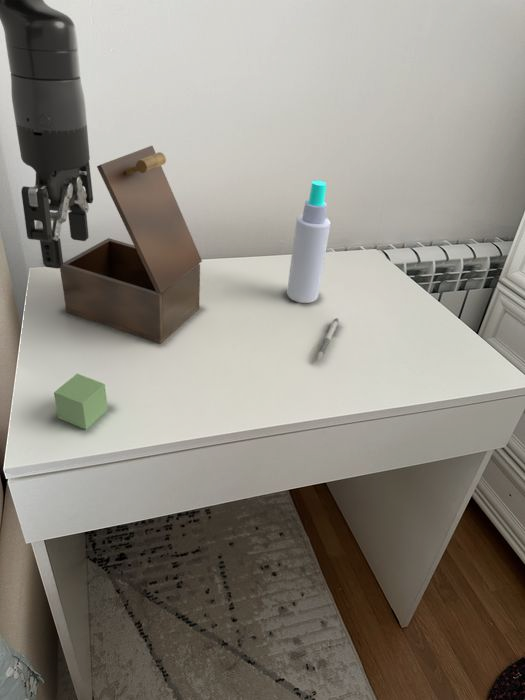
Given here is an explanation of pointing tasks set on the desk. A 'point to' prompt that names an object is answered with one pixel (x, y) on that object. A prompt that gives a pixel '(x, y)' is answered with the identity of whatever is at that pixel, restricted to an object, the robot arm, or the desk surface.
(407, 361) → the desk surface
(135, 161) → the lid
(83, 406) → the block
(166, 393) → the desk surface
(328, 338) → the pen
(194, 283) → the chest
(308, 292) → the spray bottle
